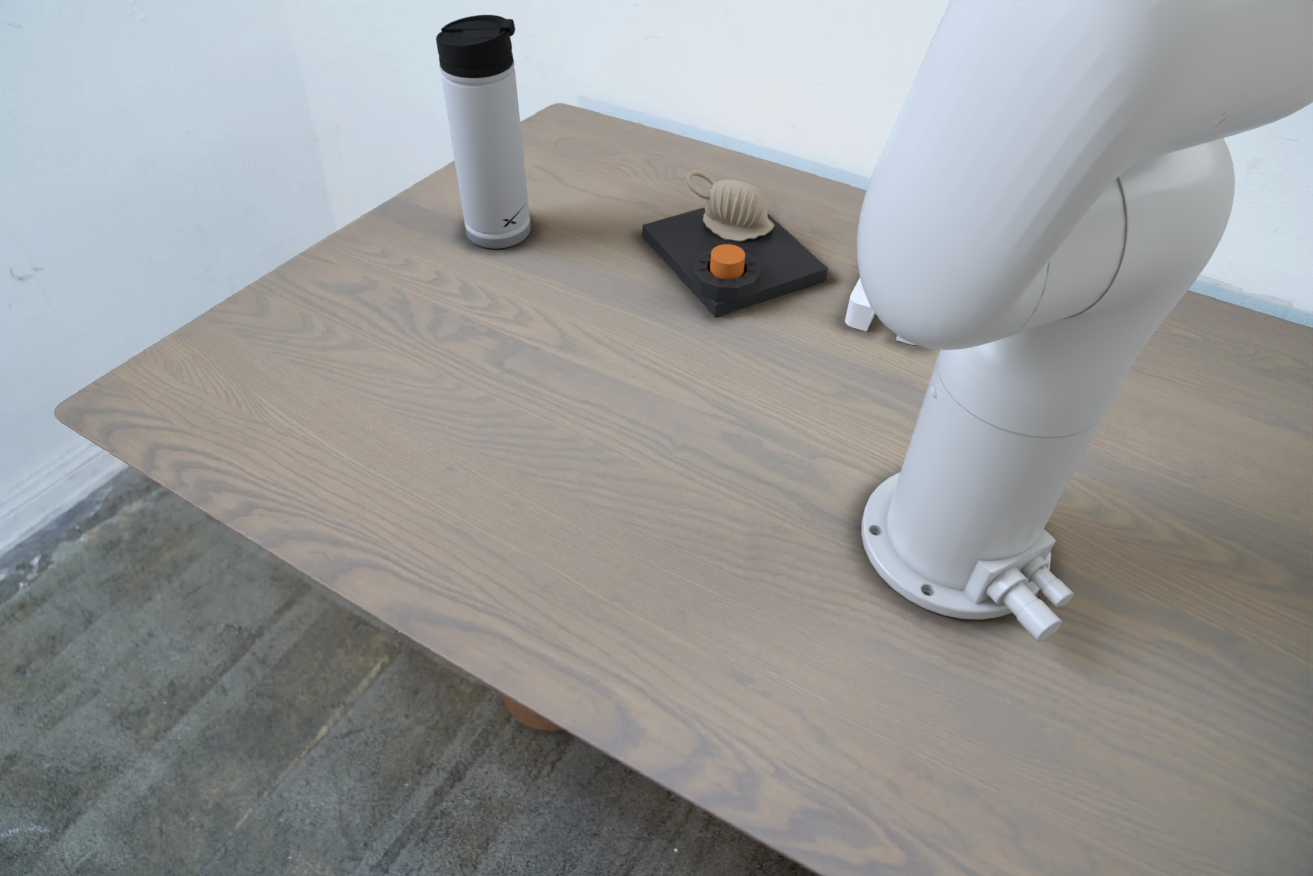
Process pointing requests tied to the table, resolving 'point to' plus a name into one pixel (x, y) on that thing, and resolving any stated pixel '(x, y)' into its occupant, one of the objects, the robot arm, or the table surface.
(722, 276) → the button
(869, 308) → the slotted bracket
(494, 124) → the travel mug
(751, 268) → the black flat block
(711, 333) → the table surface
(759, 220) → the decorative ornament
